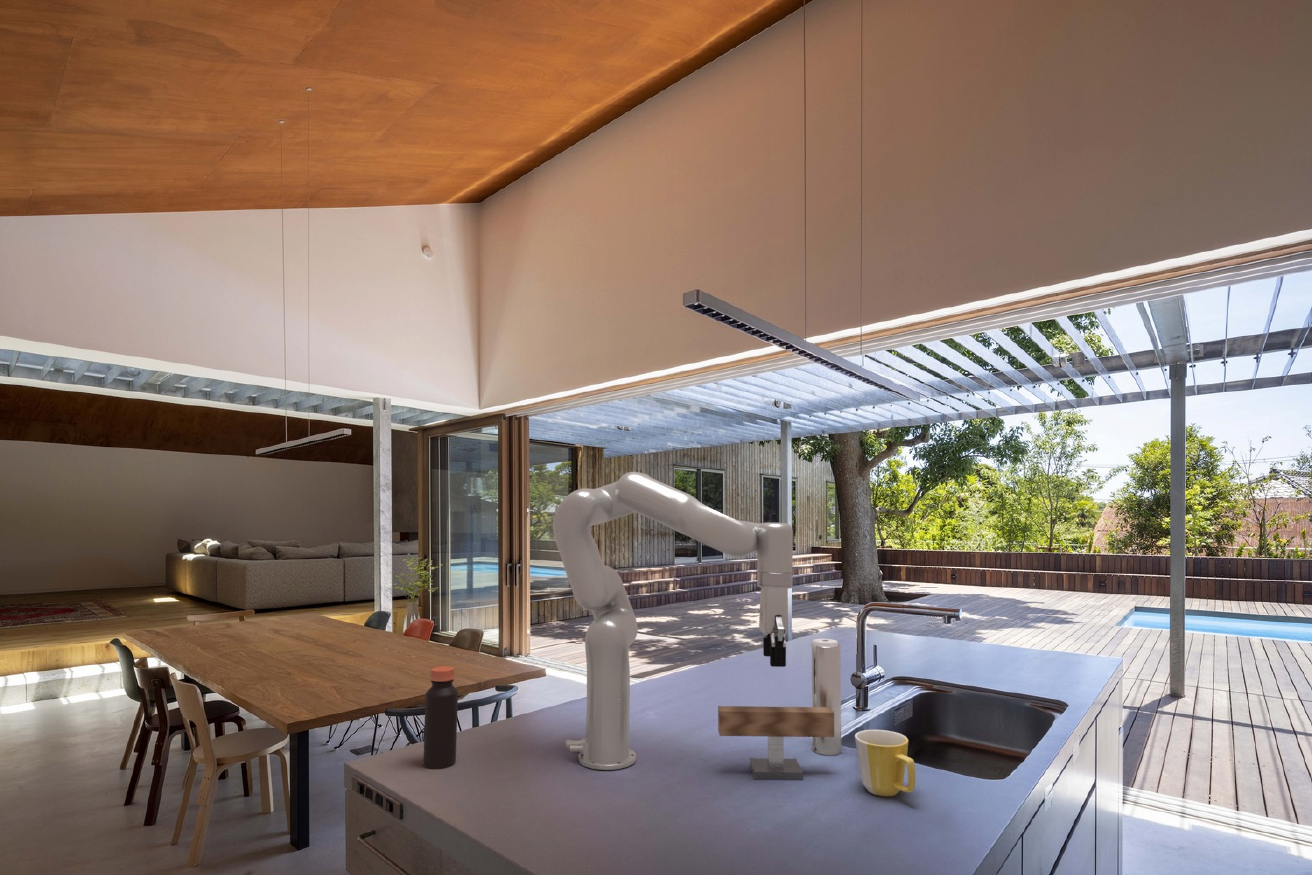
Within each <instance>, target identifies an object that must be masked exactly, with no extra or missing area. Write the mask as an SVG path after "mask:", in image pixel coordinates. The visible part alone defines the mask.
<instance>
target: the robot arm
mask: <svg viewBox="0 0 1312 875" xmlns="http://www.w3.org/2000/svg"><path fill="white" fill-rule="evenodd" d="M634 513H636V514H639V515H642V516H643V517H645V518H648V519H650V520H653V521H655V522H657V523H659V524H661V525H663V526H665V527H668V528H670V529H672V530H673V531H675V532H677V533H679V534H682V535H684V536H687V537H689V538H691V539H693V540H695V541H697V542H699V543H701V544H704V545H705V546H707V547H710V548H712V549H714V550H716V551H719V552H721V553H723V554H725V555H728V556H730V557H733V558H743V557H745V556H748V555H749V554H757V555H756V556H757V560H756V561H757V563H756V564H757V574H756V575H757V579H756V580H757V581H756V583H757V586H756V587H758V588H760V597H759V598H760V599H759V617H758V618H759V619H758V621H759V622H758V628H759V630H760V632H761V633H762V634H763V640H762V642H763V643H762V644H763V646H762V648H763V656H764V657H768V658H769V665H770V667H773V668H774V667H775V668H782V667H783V668H785V667H786V666H787V646H786V645H787V644H786V636H787V635H788V632H789V631H788V628H789V627H788V626H789V606H788V605H789V603H788V602H789V597H788V593H789V592H788V589H792V588H793V570H794V569H793V564H794V563H793V558H794V557H793V548H794V546H793V545H794V544H793V543H794V542H793V540H794V538H793V537H794V535H793V528H792V525H791V524H789V523H786V522H763V523H761V522H760V523H759V522H752V521H746V520H738V519H736V518H734V517H731V516H728V515H726V514H725V513H722V512H720V511H717V510H715V509H713V508H711V507H709V506H707V505H705V504H704V503H702V502H700V501H699V500H698V499H697V498H696V497H694V496H693V495H691V494H688V493H687V492H684V491H682V490H679V489H678V488H675V487H673V486H670V485H668V484H666V483H664V482H661V481H659V480H657V479H654V478H652V477H651V476H650V475H649V474H646V473H643V472H639V471H630V472H629V471H628V472H626V473H625V474H623V475H621V477H619V479H618V480H617V481H615V482H612V483H609V484H606V485H602V486H600V487H597V488H587V487H586V488H579V489H576V490H574V491H572V492H570V493H569V494H568V495H566V496H565V497H564V498H563V499H562V501H561V502H560V503H559V505H558V506H557V508H556V510H555V512H554V515H553V516H554V517H553V522H552V529H553V537H554V540H555V544H556V547H557V550H558V552H559V555H560V558H561V561H562V564H563V567H564V570H565V573H566V576H567V579H568V582H569V585H570V587H571V591H572V594H573V598H574V600H575V602H576V603H577V605H578V606H579V607H580V608H582V609H583V610H586V611H588V612H589V611H590V612H591V613H592V617H593V620H592V622H591V623H590V624H589V626H588V628H587V629H586V633H585V640H584V649H585V657H586V658H585V659H586V725H585V729H586V730H585V731H586V732H585V736H584V738H580V740H575V739H565V749H566V750H569V752H570V753H577V752H578V753H579V754H578V763H579V764H580V765H582V766H583V767H586V768H589V769H593V770H599V771H611V770H612V771H614V770H620V769H625V768H628V767H630V766H632V765H633V764H635V762H636V760H637V753H636V752H635V751H634V750H632V749H631V748H630V717H631V716H630V714H631V713H630V710H631V709H630V707H631V706H630V705H631V704H630V702H631V700H630V698H631V686H630V685H631V683H630V682H631V672H630V671H631V670H630V668H631V667H630V655H629V654H630V653H629V651H630V650H629V649H630V646H631V645H632V644H633V643H634V642H635V640H636V639H637V636H638V631H639V630H638V629H639V627H638V622H637V617H636V615H635V612H634V610H633V607H632V604H631V601H630V598H629V595H628V592H627V590H626V588H625V584H624V582H623V580H622V578H621V576H620V575H619V573H618V572H617V571H616V569H614V568H613V567H611V566H609V565H605V564H604V562H603V559H602V557H601V554H600V551H599V548H598V545H597V543H596V541H595V539H594V537H593V535H592V531H591V528H592V526H598V525H603V524H606V523H608V522H610V521H613V520H616V519H619V518H623V517H625V516H628V515H630V514H631V515H632V514H634Z"/></svg>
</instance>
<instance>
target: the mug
mask: <svg viewBox="0 0 1312 875" xmlns="http://www.w3.org/2000/svg"><path fill="white" fill-rule="evenodd" d="M854 739H855V747H856V751H857V752H856V753H857V758H858V764H859V770H860V771H859V772H860V778H861V783H862V784H863V786H864V788H865V789H867V791H868V792H869V793H870V794H872V795H875V796H879V797H893V796H896V795H898V793H899V792H900V791H901V792H905V793H911V792H914V790H915V787H916V765H915V761H914V759H913V758H911V757H909V756H908V747H909V739H908V738H907V736H906V735H904V734H902V733H899V732H897V731H896V732H895V731H890V730H885V729H864V730H861V731H858V732H856V733H855V735H854ZM906 767H907V786H906V785H904V780H905V771H906Z"/></svg>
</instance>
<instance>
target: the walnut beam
mask: <svg viewBox="0 0 1312 875" xmlns="http://www.w3.org/2000/svg"><path fill="white" fill-rule="evenodd" d="M717 707H718V708H717V710H718V711H717V713H718V714H717V716H718V717H717V732H718V734H719V737H767V738H768V737H784V738H785V737H786V738H791V737H792V738H794V737H795V738H812V737H834V712H833V711H832V710H831V708H830V707H812V706H745V705H744V706H738V705H736V706H732V705H731V706H730V705H728V706H727V705H718V706H717Z"/></svg>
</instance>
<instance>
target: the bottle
mask: <svg viewBox="0 0 1312 875" xmlns="http://www.w3.org/2000/svg"><path fill="white" fill-rule="evenodd" d="M454 680H455V668H454V667H453V666H443V665H442V666H436V667H432V668H431V669H430V682H431V687H430V688H429V689H428V690H427V691H426V692H425V702H424V704H425V705H424V706H425V707H424V708H425V709H424V729H423V730H424V733H423V734H424V735H423V760H422V761H423V766H424V767H425V768H427V769H433V770H435V769H436V770H437V769H438V770H439V769H445V768H449V767H451V766H452V765H454V764H455V763H456V761H457V737H458V736H457V734H458V705H459V704H458V702H459V692H458V689H457V688H456V687H455V686H454V685H453V682H454Z"/></svg>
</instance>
